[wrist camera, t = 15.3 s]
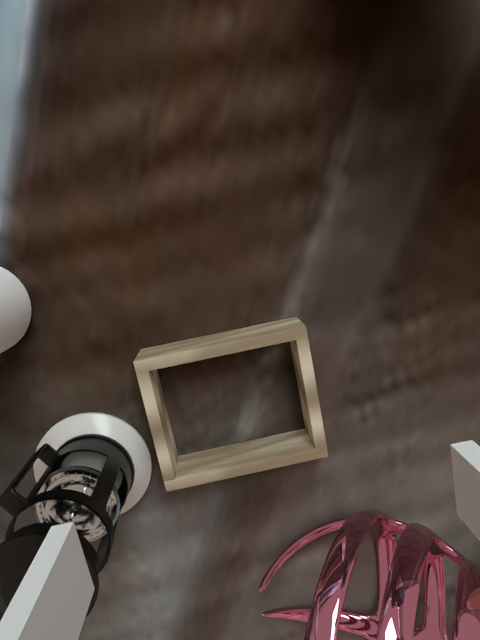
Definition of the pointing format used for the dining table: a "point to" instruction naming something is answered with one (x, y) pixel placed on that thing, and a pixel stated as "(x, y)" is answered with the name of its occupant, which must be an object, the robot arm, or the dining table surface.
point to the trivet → (109, 428)
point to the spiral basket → (385, 583)
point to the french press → (66, 508)
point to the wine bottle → (12, 310)
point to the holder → (242, 454)
